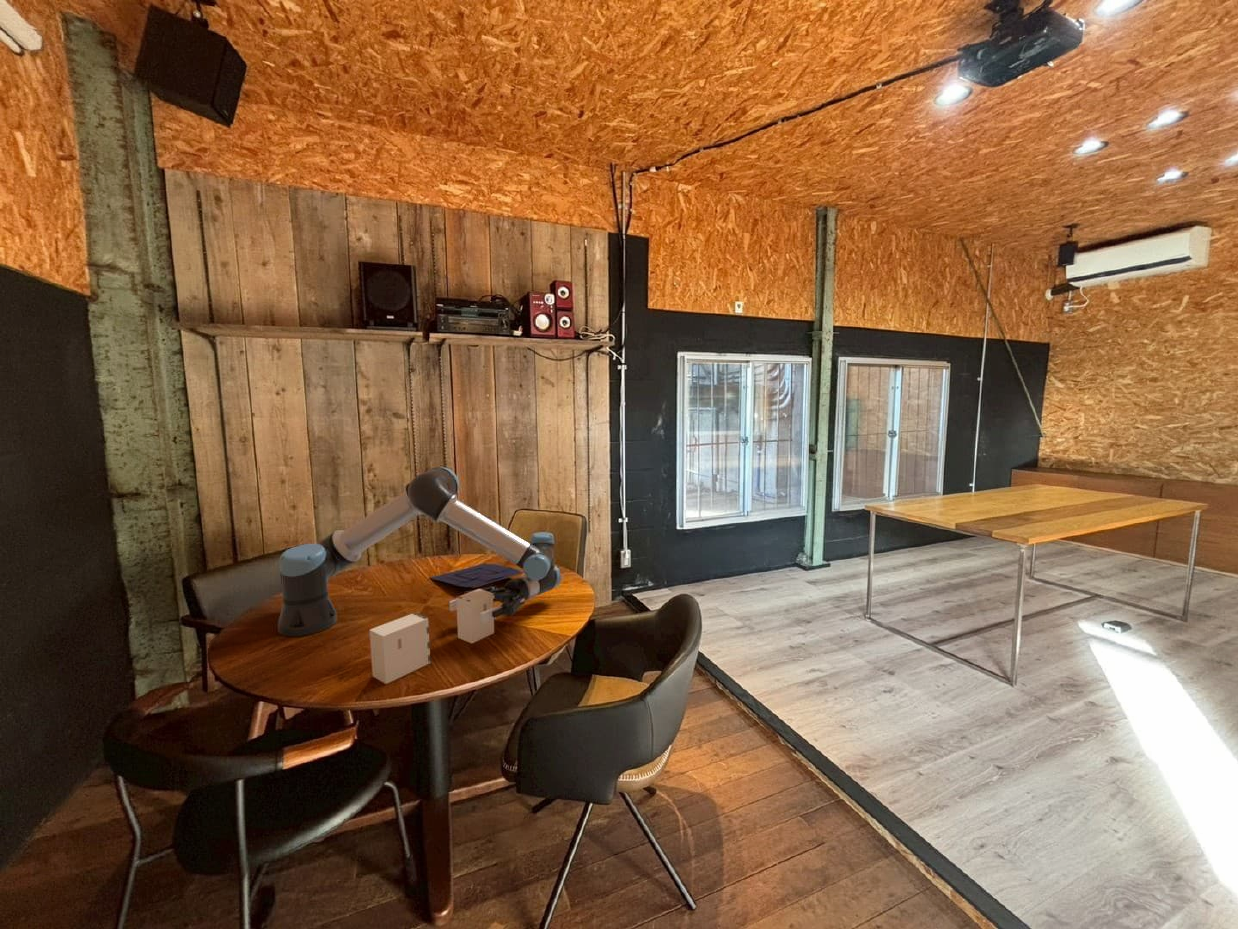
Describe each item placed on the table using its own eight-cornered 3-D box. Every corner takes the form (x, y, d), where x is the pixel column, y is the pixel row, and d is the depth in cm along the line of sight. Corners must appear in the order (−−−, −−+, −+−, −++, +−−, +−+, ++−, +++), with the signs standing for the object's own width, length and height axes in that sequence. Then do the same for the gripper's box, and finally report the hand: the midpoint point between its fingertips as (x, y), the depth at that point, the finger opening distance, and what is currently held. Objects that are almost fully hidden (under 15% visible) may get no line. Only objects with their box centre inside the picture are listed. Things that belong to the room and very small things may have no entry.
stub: (457, 637, 146) (456, 596, 145) (480, 627, 153) (479, 588, 151) (471, 643, 143) (470, 601, 141) (494, 633, 149) (493, 592, 148)
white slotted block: (372, 676, 126) (369, 628, 124) (416, 656, 136) (414, 612, 134) (386, 684, 122) (383, 635, 121) (430, 663, 132) (428, 618, 130)
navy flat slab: (470, 597, 173) (468, 586, 173) (429, 585, 194) (428, 575, 194) (529, 578, 190) (528, 569, 190) (485, 569, 211) (485, 560, 211)
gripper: (550, 610, 154) (496, 636, 137) (494, 592, 169) (438, 614, 152) (550, 586, 153) (495, 610, 136) (494, 569, 168) (437, 589, 151)
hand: (465, 612), depth 144 cm, fingers open, 13 cm apart
